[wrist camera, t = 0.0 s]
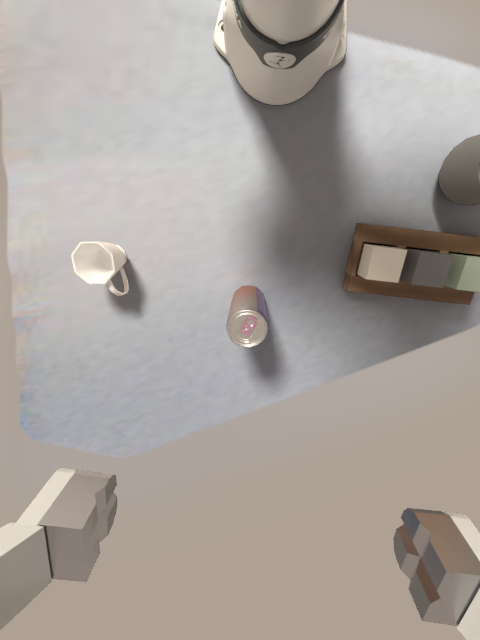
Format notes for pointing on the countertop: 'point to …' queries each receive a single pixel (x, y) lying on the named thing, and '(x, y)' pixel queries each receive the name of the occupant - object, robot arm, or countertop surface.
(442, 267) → the graphite key
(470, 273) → the sage key
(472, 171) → the cup
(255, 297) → the beverage can
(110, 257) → the cup
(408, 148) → the countertop surface
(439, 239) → the wooden tray
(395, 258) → the ivory key
